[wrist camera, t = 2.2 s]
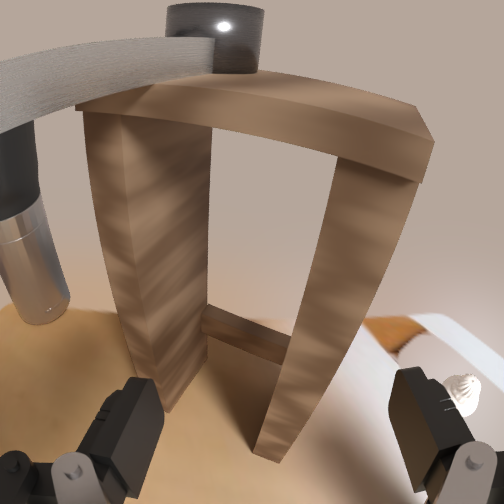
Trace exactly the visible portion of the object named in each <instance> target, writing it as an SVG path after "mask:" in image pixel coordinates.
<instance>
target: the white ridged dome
mask: <svg viewBox="0 0 504 504" xmlns="http://www.w3.org/2000/svg"><path fill="white" fill-rule="evenodd" d="M442 385H443V386H444V387H445V388H446V390H447V392H448V393H449V395H450V397H451V400H453V402H454V403H455V405H456V409H458V410H459V412H460V414H461V416H462V417H466V416H469V415H470V414H472V413H473V412H474V411H475V409H476V407H477V405H478V401H479V393H480V389H481V385H480V381H479V380H478V378H476V377H475V376H473V375H472V374H470V375H469V374H466V375H462V376H459V375H454V376H451V377H449V378H447V379H446V380H445V381H444V383H443V384H442Z"/></svg>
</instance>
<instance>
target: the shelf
mask: <svg viewBox="0 0 504 504" xmlns="http://www.w3.org/2000/svg"><path fill="white" fill-rule="evenodd" d="M75 111H83V121H84V134H85V144H86V154H87V162H88V170H89V178H90V185H91V191H92V198H93V204H94V210H95V216H96V221H97V227H98V232H99V237H100V242H101V247H102V252H103V256H104V261H105V265H106V269H107V274H108V278H109V282H110V286H111V290H112V294H113V298H114V301H115V305H116V309H117V312H118V316H119V319H120V323H121V326H122V330H123V333H124V336H125V339H126V343H127V346H128V349H129V352H130V355H131V358H132V361H133V364H134V367H135V370H136V373H137V376H138V377H139V378H151V379H153V380H154V382H155V385H156V388H157V392H158V395H159V398H160V401H161V404H162V407H163V410H164V411H165V412H167V413H170V411H171V410H172V409H173V407H174V406H175V404H176V403H177V401H178V400H179V398H180V397H181V396H182V394H183V393H184V391H185V390H186V388H187V387H188V385H189V384H190V382H191V381H192V380H193V378H194V377H195V375H196V374H197V372H198V371H199V369H200V368H201V366H202V365H203V363H204V362H205V361H206V359H207V358H208V355H207V335H209V336H212V337H214V338H216V339H218V340H221V341H223V342H225V343H228V344H230V345H232V346H235V347H237V348H240V349H242V350H244V351H247V352H249V353H252V354H254V355H257V356H259V357H262V358H264V359H267V360H269V361H272V362H274V363H277V364H279V365H282V368H281V371H280V375H279V378H278V381H277V384H276V387H275V390H274V393H273V396H272V399H271V402H270V405H269V408H268V411H267V414H266V417H265V419H264V422H263V425H262V428H261V431H260V434H259V437H258V439H257V442H256V445H255V448H254V450H253V454H256V455H258V456H261V457H263V458H266V459H268V460H271V461H274V462H276V463H280V462H281V460H282V459H283V457H284V456H285V454H286V453H287V451H288V450H289V448H290V447H291V445H292V444H293V442H294V441H295V439H296V438H297V436H298V435H299V433H300V432H301V430H302V428H303V427H304V425H305V424H306V422H307V421H308V419H309V417H310V416H311V414H312V412H313V411H314V409H315V408H316V406H317V404H318V403H319V401H320V399H321V397H322V396H323V394H324V392H325V391H326V389H327V387H328V385H329V384H330V382H331V380H332V378H333V377H334V375H335V373H336V371H337V369H338V368H339V366H340V364H341V362H342V360H343V358H344V357H345V355H346V353H347V351H348V349H349V347H350V345H351V343H352V341H353V339H354V337H355V335H356V333H357V331H358V329H359V327H360V325H361V323H362V321H363V319H364V317H365V315H366V313H367V311H368V309H369V307H370V305H371V303H372V300H373V298H374V296H375V294H376V292H377V289H378V287H379V285H380V283H381V281H382V278H383V276H384V274H385V271H386V269H387V267H388V264H389V262H390V260H391V257H392V255H393V252H394V250H395V247H396V245H397V242H398V240H399V237H400V235H401V232H402V230H403V227H404V225H405V222H406V219H407V216H408V214H409V211H410V208H411V206H412V202H413V200H414V197H415V194H416V191H417V188H418V185H419V183H422V181H423V178H424V175H425V172H426V169H427V165H428V162H429V159H430V156H431V152H432V149H433V145H434V140H433V138H432V136H431V134H430V132H429V130H428V128H427V126H426V125H425V123H424V121H423V119H422V117H421V115H420V113H419V112H418V110H417V108H416V106H413V105H410V104H407V103H404V102H401V101H398V100H395V99H392V98H388V97H385V96H382V95H378V94H375V93H371V92H367V91H364V90H360V89H356V88H352V87H347V86H344V85H339V84H335V83H331V82H326V81H321V80H317V79H311V78H306V77H301V76H295V75H290V74H284V73H277V72H270V71H264V70H258V72H257V73H255V74H207V75H201V76H194V77H188V78H182V79H177V80H171V81H166V82H161V83H156V84H152V85H147V86H142V87H138V88H134V89H130V90H126V91H122V92H118V93H114V94H110V95H107V96H103V97H100V98H96V99H93V100H89V101H86V102H83V103H80V104H76V105H75ZM212 127H214V128H219V129H225V130H230V131H235V132H240V133H245V134H250V135H254V136H259V137H264V138H268V139H272V140H277V141H281V142H285V143H289V144H294V145H297V146H301V147H305V148H309V149H313V150H317V151H320V152H324V153H328V154H331V155H335V156H338V159H337V164H336V168H335V173H334V177H333V181H332V186H331V190H330V194H329V199H328V203H327V207H326V211H325V215H324V219H323V224H322V228H321V232H320V235H319V239H318V243H317V247H316V251H315V255H314V258H313V262H312V266H311V270H310V274H309V277H308V281H307V285H306V288H305V291H304V295H303V299H302V302H301V305H300V309H299V312H298V316H297V319H296V323H295V326H294V329H293V333H292V336H288V335H286V334H283V333H280V332H278V331H275V330H273V329H270V328H267V327H265V326H262V325H260V324H257V323H254V322H252V321H249V320H247V319H244V318H242V317H239V316H237V315H234V314H232V313H229V312H227V311H224V310H222V309H219V308H217V307H215V306H212V305H210V304H208V305H207V265H208V219H209V218H208V217H209V188H210V165H211V143H212Z"/></svg>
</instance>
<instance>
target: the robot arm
mask: <svg viewBox="0 0 504 504" xmlns="http://www.w3.org/2000/svg"><path fill="white" fill-rule="evenodd" d="M0 275H1V277H2V280H3V282H4V284H5V286H6V288H7V290H8V293H9V294H10V297H11V299H12V301H13V303H14V305H15V307H16V309H17V311H18V313H19V315H20V316H21V318H22V319H23V320H24V321H25V322H27V323H29V324H33V325H41V324H46V323H49V322H51V321H53V320H55V319H57V318H58V317H59V316H60V315H61V314H62V313H63V312H64V311H65V310H66V308H67V307H68V304H69V302H70V292H69V290H68V287H67V284H66V281H65V278H64V275H63V272H62V269H61V266H60V262H59V259H58V256H57V253H56V250H55V247H54V243H53V239H52V236H51V232H50V229H49V225H48V221H47V217H46V213H45V209H44V205H43V201H42V196H41V192H40V187H39V182H38V160H37V152H36V144H35V133H34V120H32V121H29V122H27V123H24V124H22V125H19V126H17V127H15V128H12V129H10V130H8V131H5V132H3V133H1V134H0ZM388 412H389V418H390V422H391V424H392V427H393V430H394V433H395V436H396V439H397V441H398V444H399V447H400V450H401V453H402V456H403V459H404V462H405V465H406V468H407V471H408V475H409V478H410V481H411V484H412V487H413V490H414V493H417V492H421V491H425V490H426V492H427V495H428V498H427V499H426V501H425V503H424V504H504V451H500V452H495V451H494V450H493V448H492V447H491V446H489V445H488V444H485V443H483V442H478V441H475V439H474V438H473V436H472V434H471V432H470V430H469V428H468V426H467V425H466V423H465V421H464V419H463V417H462V416H461V414H460V412H459V410H458V409H456V405H455V403H454V402H453V400H451V397H450V395H449V393H448V392H447V390H446V388H445V387H444V386H443V385H442V384H440V383H439V382H438V381H436V380H435V379H429V380H428V379H427V377H426V376H425V374H424V372H423V370H422V369H421V368H420V367H412V368H406V369H400V370H397V372H396V375H395V379H394V383H393V388H392V392H391V396H390V400H389V405H388ZM163 425H164V410H163V407H162V404H161V401H160V398H159V395H158V392H157V388H156V385H155V382H154V380H153V379H151V378H139V377H130V378H129V379H128V381H127V382H126V384H125V386H124V388H123V390H116V391H115V392H114V393H112V394H111V395H110V396H109V397H107V398H106V400H105V401H104V403H103V405H102V407H101V408H100V411H99V412H98V413H97V415H96V417H95V420H93V422H92V424H91V426H90V427H89V429H88V431H87V433H86V434H85V436H84V438H83V440H82V442H81V443H80V445H79V447H78V449H77V450H76V452H70V453H66V454H63V455H61V456H60V457H58V458H57V459H56V460H55V462H54V463H36V462H32V461H31V460H30V459H29V457H28V456H27V455H26V454H25V453H24V452H21V451H16V450H15V451H9V452H7V453H5V454H4V455H2V456H1V457H0V504H123V503H124V500H125V498H126V497H131V498H135V499H138V497H139V494H140V491H141V488H142V485H143V482H144V480H145V477H146V474H147V471H148V468H149V465H150V462H151V459H152V457H153V454H154V451H155V448H156V445H157V443H158V440H159V437H160V434H161V431H162V429H163Z"/></svg>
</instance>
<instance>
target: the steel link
mask: <svg viewBox="0 0 504 504" xmlns="http://www.w3.org/2000/svg"><path fill="white" fill-rule="evenodd" d="M263 18H264V10H263V9H260V8H256V7H252V6H246V5H239V4H229V3H184V4H176V5H171V6H168V7H167V17H166V30H165V37H154V38H134V39H121V40H110V41H101V42H93V43H86V44H79V45H72V46H66V47H61V48H55V49H50V50H45V51H41V52H36V53H32V54H28V55H23V56H19V57H15V58H12V59H8V60H4V61H1V62H0V134H1V133H3V132H5V131H8V130H10V129H12V128H15V127H17V126H19V125H22V124H24V123H27V122H29V121H32V120H34V119H37V118H39V117H42V116H45V115H47V114H50V113H53V112H56V111H58V110H61V109H64V108H67V107H70V106H73V105H76V104H80V103H83V102H86V101H89V100H93V99H96V98H100V97H103V96H107V95H110V94H114V93H118V92H122V91H126V90H130V89H134V88H138V87H142V86H147V85H152V84H156V83H161V82H166V81H171V80H177V79H182V78H188V77H194V76H201V75H207V74H255V73H257V72H258V64H259V55H260V45H261V36H262V28H263Z"/></svg>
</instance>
